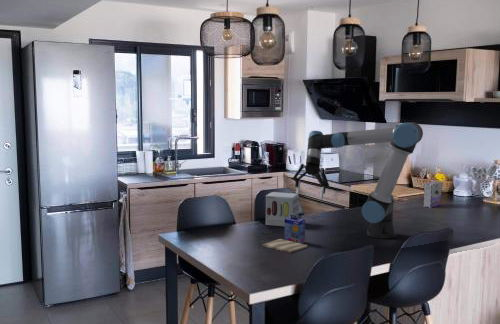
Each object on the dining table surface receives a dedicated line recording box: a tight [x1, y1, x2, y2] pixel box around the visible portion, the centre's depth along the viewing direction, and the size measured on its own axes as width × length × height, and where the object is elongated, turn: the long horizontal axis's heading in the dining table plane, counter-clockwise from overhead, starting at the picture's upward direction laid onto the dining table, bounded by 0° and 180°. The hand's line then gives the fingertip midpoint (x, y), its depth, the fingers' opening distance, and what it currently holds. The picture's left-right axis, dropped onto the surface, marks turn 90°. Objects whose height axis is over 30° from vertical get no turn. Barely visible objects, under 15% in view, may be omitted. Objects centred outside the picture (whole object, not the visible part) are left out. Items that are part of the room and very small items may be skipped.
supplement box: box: [265, 191, 300, 228], centre depth 306 cm, size 17×13×18 cm
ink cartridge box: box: [284, 215, 306, 244], centre depth 267 cm, size 10×6×14 cm, turn 51°
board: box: [261, 238, 308, 254], centre depth 259 cm, size 18×14×1 cm
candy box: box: [422, 181, 443, 209], centre depth 355 cm, size 14×6×16 cm, turn 130°
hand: (309, 196), depth 267 cm, fingers open, 13 cm apart
